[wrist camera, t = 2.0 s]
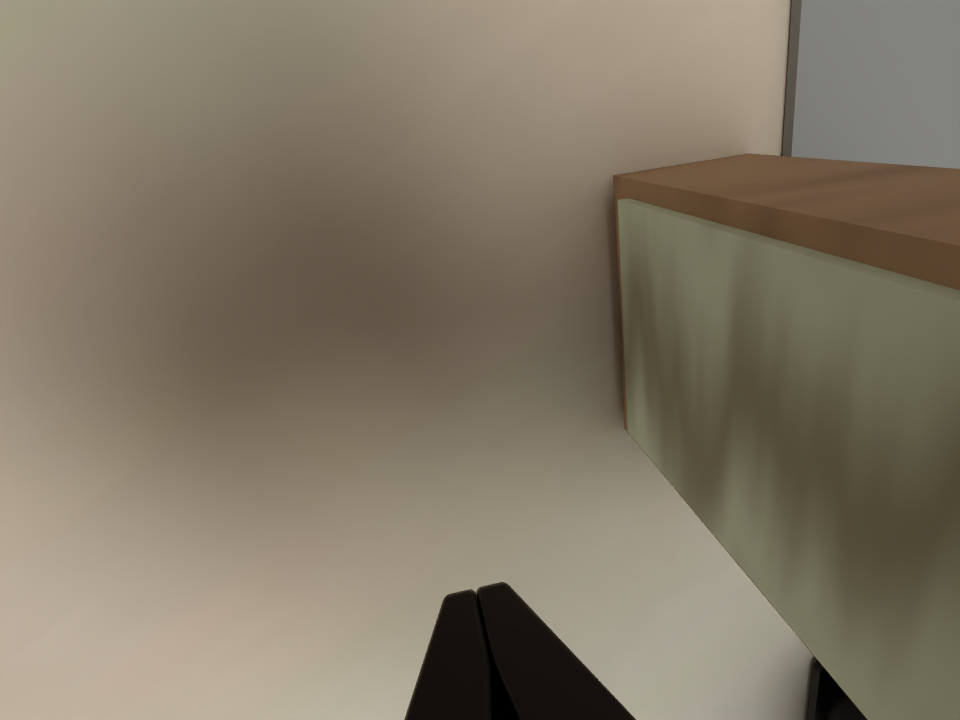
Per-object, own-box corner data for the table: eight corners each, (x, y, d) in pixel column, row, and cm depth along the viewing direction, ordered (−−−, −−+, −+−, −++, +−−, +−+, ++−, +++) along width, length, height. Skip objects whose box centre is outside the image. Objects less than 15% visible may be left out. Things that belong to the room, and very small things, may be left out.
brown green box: (738, 404, 20) (1300, 831, 8) (615, 430, 19) (1010, 923, 7) (749, 153, 17) (1701, 221, 5) (602, 177, 16) (1247, 318, 4)
